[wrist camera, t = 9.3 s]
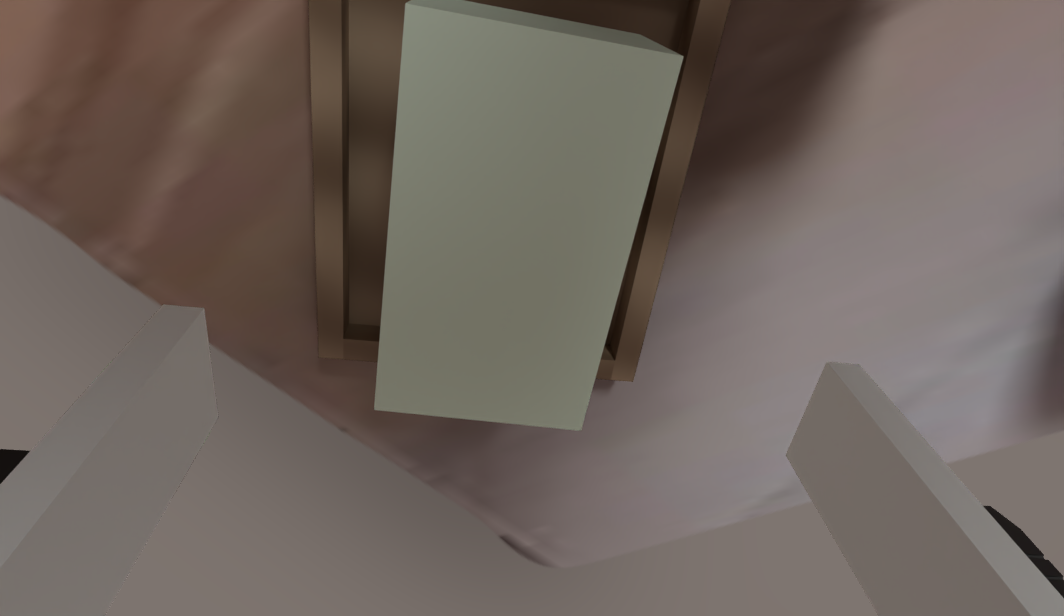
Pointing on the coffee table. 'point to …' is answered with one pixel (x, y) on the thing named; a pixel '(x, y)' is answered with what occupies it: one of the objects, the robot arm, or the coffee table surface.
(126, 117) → the coffee table surface
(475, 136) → the grey boxy block
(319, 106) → the peg frame
